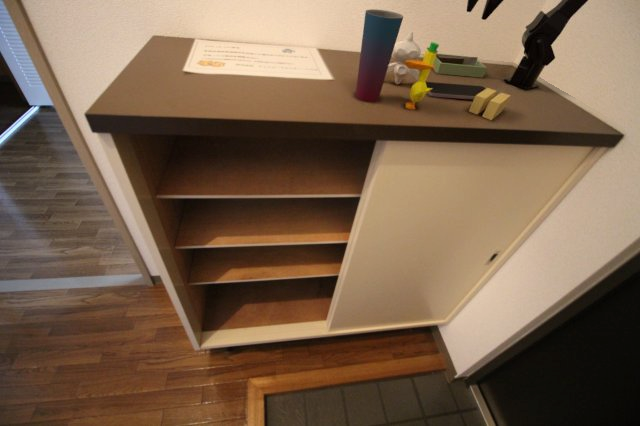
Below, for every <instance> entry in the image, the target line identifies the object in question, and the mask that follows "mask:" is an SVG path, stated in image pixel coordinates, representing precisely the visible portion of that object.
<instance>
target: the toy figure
mask: <svg viewBox="0 0 640 426" xmlns="http://www.w3.org/2000/svg"><path fill="white" fill-rule="evenodd" d="M439 46H440V44H438V43H436V42H432V41H431V42H430V45H429V47H426V50H425V52H424V55H423V59H422V60H421V59H417V60H406V61H405V64H406V66H407V67H408V68H411V69H417V70H418V71H419V72H420V73H419V78H418V81H417V80H416V81H415V82H414V83H413V84H412V85H411V88H410V90H409V98H410V100H411V101H412V102H410V101H408V102H405V105H404V106H405V108H406V109H408V110H416V103H419V102H420V101H421V100H422V99H423V98H424V97H425V96H427V95H428V92H429V91H430V90H432V89H433V88H427V86H426V82H427V79H428V77H429V75H430V73H431V71H434V70H433V69H434V68H435V67H434V65H433V63H434V60H435V57H436V55H437V54H438V52H439V51H438V48H439Z"/></svg>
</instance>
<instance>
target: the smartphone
mask: <svg viewBox="0 0 640 426" xmlns="http://www.w3.org/2000/svg"><path fill="white" fill-rule="evenodd" d="M425 82H426V86H427V88H433V89H432V90H430V91H429V92H428V93H427V95H428V96H430V97H434V98H446V99H447V98H449V99H460V100H461V99H462V100H472V101H474V98H475V96H476V95H477V94H479V93H480V92H482V91H484V90H485V89H487V87H485V86H482V85H474V84H459V83H458V84H457V83H446V82H436V81H435V82H432V81H425Z"/></svg>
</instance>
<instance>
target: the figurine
mask: <svg viewBox="0 0 640 426" xmlns="http://www.w3.org/2000/svg"><path fill="white" fill-rule="evenodd" d="M421 52H422V50H421V48H420V46H419V44H417V42H415V41H414V33H413V31H409V32H408V33H407V35H406V37H405V38H404V39H402V40H399V41H396V43H395V46H394V49H393V53H392V56H391V58H392V59H393V60H394V62H389V66H388V69H387V72H386V74H387V73H390V72H393V74H394V83H395V85H400V84H401V82H403V80H404V78H406V77H407V76H408V75H410V76H412V77H413V78H414V79H415V81H416V82H417V81H418V78H419V73H420V70H417V69H411V68H408V67H407V66H406V64H405V61H406V60H419V58H420V56H421V54H422V53H421Z"/></svg>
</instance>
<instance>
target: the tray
mask: <svg viewBox="0 0 640 426" xmlns="http://www.w3.org/2000/svg"><path fill="white" fill-rule="evenodd" d="M437 55H441V56H459V57H464V56H465V57H468V56H467V55H456V54H447V53H437ZM437 55H436V57H435V60H434V63H433V65H434V67H435V68H434V69H433V70H432V71H434V72H435V73H436V74H439V75H448V76H461V77H471V78H480V79H481V78H482V79H483V78H484V76H485V74H486V72H487V71H488V67H487V66H486V65H485V64H483V63H482V62H480V61H479V60H478V59H477V61H476V64H475V66H470V65H460V64H450V63H442V62H441V61H440V60H439V59H438V58H437Z"/></svg>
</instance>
